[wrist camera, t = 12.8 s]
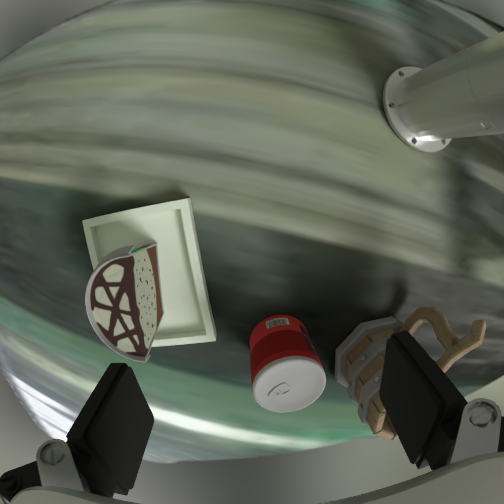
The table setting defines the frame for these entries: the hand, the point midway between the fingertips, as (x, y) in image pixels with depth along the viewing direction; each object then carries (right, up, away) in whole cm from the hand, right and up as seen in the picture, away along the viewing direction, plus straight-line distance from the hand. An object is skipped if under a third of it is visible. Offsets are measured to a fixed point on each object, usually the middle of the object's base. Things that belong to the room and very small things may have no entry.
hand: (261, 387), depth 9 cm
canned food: (+3, -7, +29) cm, 30 cm away
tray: (-13, +1, +26) cm, 30 cm away
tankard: (+21, -8, +31) cm, 38 cm away
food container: (-15, +1, +26) cm, 30 cm away
